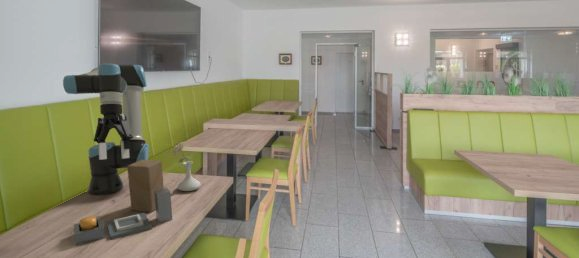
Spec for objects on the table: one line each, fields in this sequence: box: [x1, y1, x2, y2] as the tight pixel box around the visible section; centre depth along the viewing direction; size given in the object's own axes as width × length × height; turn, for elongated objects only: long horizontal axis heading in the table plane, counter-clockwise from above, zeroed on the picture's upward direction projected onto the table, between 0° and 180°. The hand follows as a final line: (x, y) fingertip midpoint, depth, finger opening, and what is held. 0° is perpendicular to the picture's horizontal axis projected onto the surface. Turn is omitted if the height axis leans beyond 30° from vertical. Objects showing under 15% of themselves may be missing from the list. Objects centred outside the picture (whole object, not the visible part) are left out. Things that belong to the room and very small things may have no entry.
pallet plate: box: [106, 212, 153, 240], centre depth 128 cm, size 14×14×2 cm
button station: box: [73, 217, 106, 246], centre depth 121 cm, size 9×9×4 cm
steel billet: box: [154, 187, 173, 224], centre depth 134 cm, size 5×5×12 cm
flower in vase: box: [172, 141, 202, 192], centre depth 164 cm, size 13×11×25 cm
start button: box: [79, 215, 97, 230], centre depth 120 cm, size 5×5×3 cm
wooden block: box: [126, 159, 165, 213], centre depth 144 cm, size 10×10×20 cm
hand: (114, 158), depth 128 cm, fingers open, 13 cm apart
